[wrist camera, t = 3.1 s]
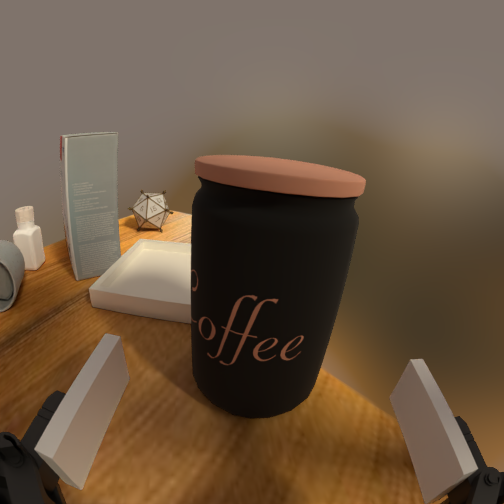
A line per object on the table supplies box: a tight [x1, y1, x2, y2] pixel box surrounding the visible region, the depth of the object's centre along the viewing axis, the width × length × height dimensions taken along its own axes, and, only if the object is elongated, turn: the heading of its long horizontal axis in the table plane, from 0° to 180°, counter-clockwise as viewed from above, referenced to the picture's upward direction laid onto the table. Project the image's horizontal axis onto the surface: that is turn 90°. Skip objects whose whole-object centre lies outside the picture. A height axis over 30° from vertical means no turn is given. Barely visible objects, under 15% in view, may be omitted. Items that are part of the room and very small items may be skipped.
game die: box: [128, 190, 173, 232], centre depth 56 cm, size 9×8×10 cm
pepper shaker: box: [13, 206, 45, 270], centre depth 36 cm, size 4×4×10 cm
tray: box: [89, 239, 191, 324], centre depth 38 cm, size 17×17×2 cm
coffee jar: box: [191, 155, 366, 418], centre depth 21 cm, size 11×11×18 cm
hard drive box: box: [60, 132, 121, 281], centre depth 39 cm, size 16×8×20 cm, turn 39°
